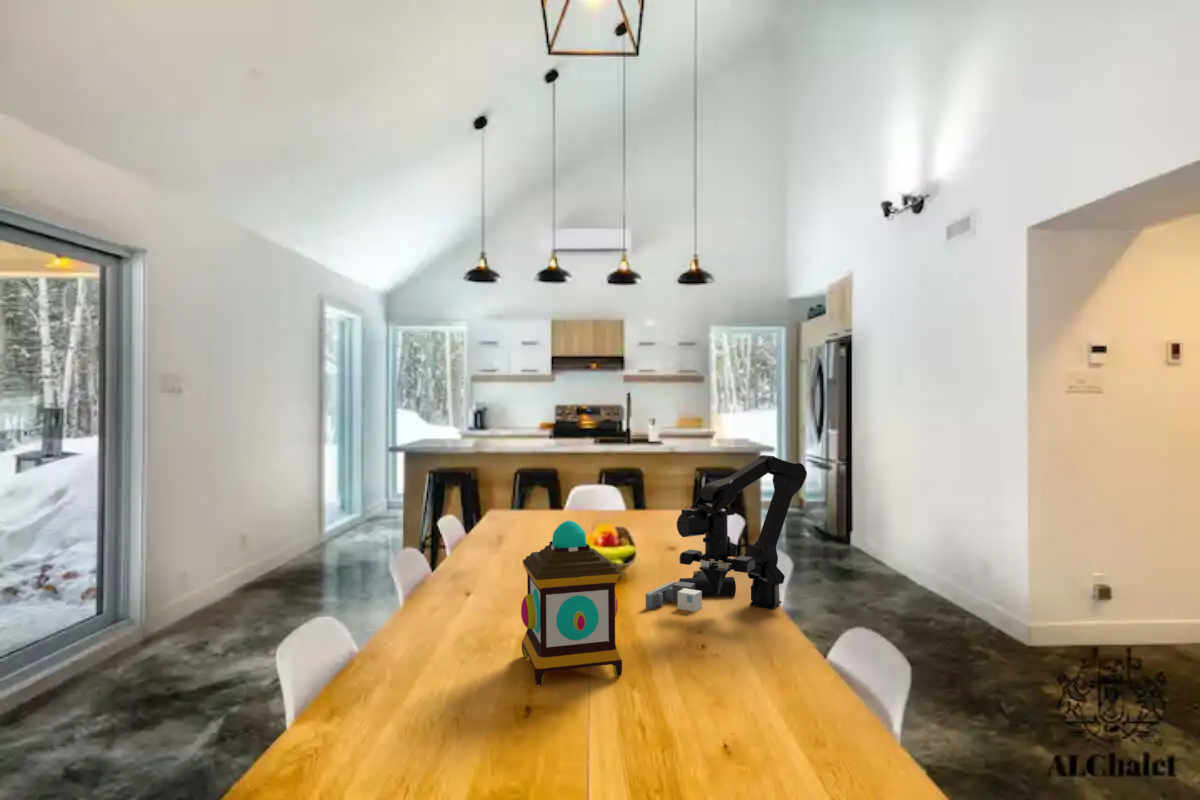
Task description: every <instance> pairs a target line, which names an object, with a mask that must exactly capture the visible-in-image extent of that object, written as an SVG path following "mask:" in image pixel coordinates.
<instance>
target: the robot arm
mask: <svg viewBox="0 0 1200 800" xmlns="http://www.w3.org/2000/svg"><path fill="white" fill-rule="evenodd" d="M767 474H770V475H772V484H773V489H774V492H773V494H772V497H771V500H770V502H769V506H768V509H767V512H766V515H765V518H764V521H763V525H762V527H761V530H760V532H759V536H758V539H757V540H756V542H755V543H754V544H751V543H750V544H747V546H746V549H745V553H744V555H738V556H737V552H738V551H737V550H738V545H737V544H736V543H734V542H731V537H730V536H729V535H728V526H729V524H728V516H734V515H735V514H736V513H735V511H734V510H732V509H731V508H730V506H729V505H730V504H732V503H733V502H734V501H735V500H736V499H737V496H738V494H739V493H740V492H741V491H742V490H744V489H746V488H747V487H749V486H750V485H752V484H753V483H755V482H756V481H758V480H760V479H761V478H763V477H764V476H766V475H767ZM807 476H808V472H807V470H806V467H805V466H804V465H803V463H800V462H796V461H795V462H793V461H787V460H784V459H781V458H778V457H776V456H774V455H768V454H767V455H766V454H762V455H760V456H758V457H757V458H756V459H755V460H753V461H752V462H750V463H748V464H747V465H745V466H743V467H742V468H740V469H739V470H737V471H736V472H734V473H732V474H730V475H729V476H727V477H726V478H725V477H724V478H721V479H717V480H713V481H710V482H707V483H706V484H704V485H703V486H702V487H701V491H700V494H699V495H698V497H697V499H696V501H695V503H694V504H693V506H692V508H690V509H688V508H683V509H681V511H680V512H681V514H680V515H678V517H677V521H676V530H677V532H678V534H679V536H681V537H682V538H687V537H688V538H689V537H697V536H704V537H703V538H702V542H703V543H704V544H705V545H704V548H705V549H704V553H703V551H701V550H695V549H690V548H689V549H688V550H687V549H686V550H685V551H682V552H681V553H680V555H679V564H681V565H687V566H691V564H693V562H698V563H700V567H699V570H703V572H704V574H705V575H706V577H707V579H708V581H709V583H710V585H711V587H712V589H713V592H714V594H716V595H717V596H719V595H718V594H719V593H720V590H721V587H722V584H723V581H724V578H725V577H727V574H728V573H729V572H730V571H734V572H736V573H737V572H738V573H744V574H745V573H747V574H746V575H747V577H748V578H749V579H750V580H752V584H751V586H750V600H751V601H750V602H749V605H750V606H754V607H756V606H757V607H762V608H767V609H775V608H777V607H778V606H779V605H781V604H782V600H780V585H782V584H784V582H785V578H786V577H785V574H783V572H782V570H780V569H779V567H778V561H779V556H778V555H779V554H778V551H777V546H778V542H779V539H780V536H781V532H782V529H783V526H784V524H785V522H786V521H785V520H786V518H787V515H788V511H789V509H790V505H791V503H792V499H793V496H794V495H796V494H797V493H798V492H799V491H800V490H801V489H802V487H803V485H804V483H805V481H806V479H807ZM731 557H732V558H731Z"/></svg>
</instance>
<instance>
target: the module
mask: <svg viewBox="0 0 1200 800" xmlns="http://www.w3.org/2000/svg"><path fill="white" fill-rule="evenodd" d="M702 600H703V596H702V591H698V590H692V589H686V588H684V589H682V590H680V591H678V602H677V609H678V610H682V611H688V612H694V613H695V612H696V613H697V611H699V610H700V609H703V601H702Z"/></svg>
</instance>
